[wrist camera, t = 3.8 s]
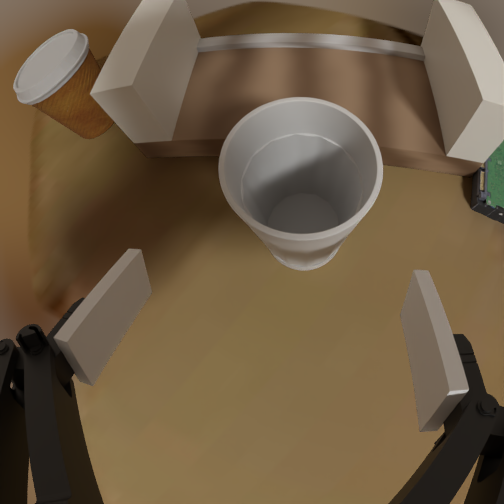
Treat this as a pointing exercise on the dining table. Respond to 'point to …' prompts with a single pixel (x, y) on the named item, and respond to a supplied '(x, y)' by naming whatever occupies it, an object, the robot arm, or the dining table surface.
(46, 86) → the disposable coffee cup
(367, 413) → the dining table surface
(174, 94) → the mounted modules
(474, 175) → the disk drive
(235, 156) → the cup
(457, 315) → the dining table surface
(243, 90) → the board
